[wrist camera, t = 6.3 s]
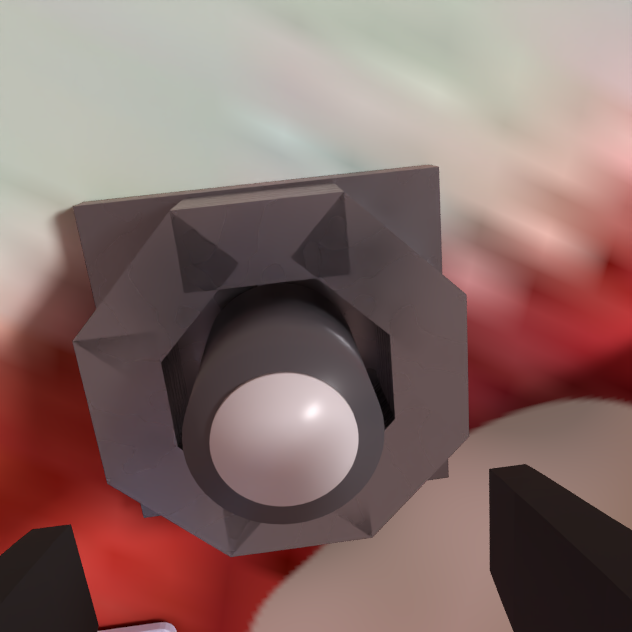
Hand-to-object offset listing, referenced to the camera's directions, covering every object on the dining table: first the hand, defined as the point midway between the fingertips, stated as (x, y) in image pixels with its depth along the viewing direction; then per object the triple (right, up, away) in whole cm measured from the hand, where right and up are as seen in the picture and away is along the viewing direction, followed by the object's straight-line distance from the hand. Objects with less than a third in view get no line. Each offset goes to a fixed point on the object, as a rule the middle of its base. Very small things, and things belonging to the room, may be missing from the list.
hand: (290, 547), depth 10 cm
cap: (-1, +3, +8) cm, 8 cm away
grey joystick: (-1, +3, +9) cm, 9 cm away
